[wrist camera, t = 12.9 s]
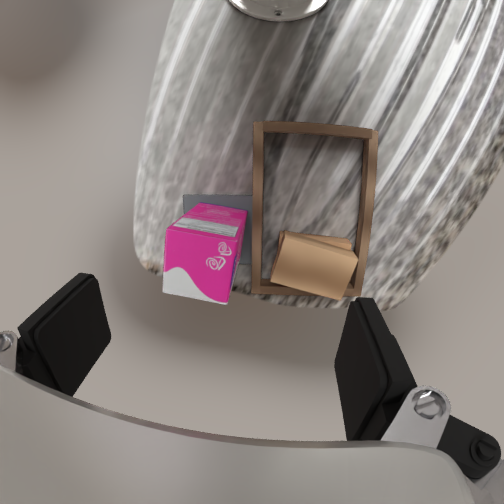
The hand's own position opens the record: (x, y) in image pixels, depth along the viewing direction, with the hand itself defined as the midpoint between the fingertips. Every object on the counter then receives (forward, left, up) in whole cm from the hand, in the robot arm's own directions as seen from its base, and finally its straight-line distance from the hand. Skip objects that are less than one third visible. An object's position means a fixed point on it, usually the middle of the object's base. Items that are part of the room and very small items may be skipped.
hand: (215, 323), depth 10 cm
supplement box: (+3, -4, -23) cm, 24 cm away
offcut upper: (+6, +6, -22) cm, 23 cm away
